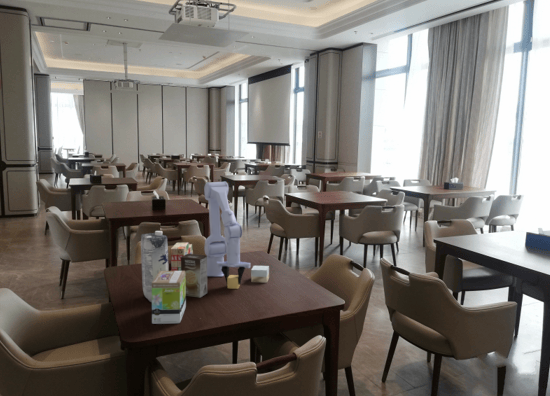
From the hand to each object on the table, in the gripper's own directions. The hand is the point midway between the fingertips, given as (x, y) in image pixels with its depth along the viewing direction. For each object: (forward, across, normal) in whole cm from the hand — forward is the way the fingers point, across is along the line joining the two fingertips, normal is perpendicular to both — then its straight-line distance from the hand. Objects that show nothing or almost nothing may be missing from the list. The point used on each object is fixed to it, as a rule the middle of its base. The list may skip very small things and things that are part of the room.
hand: (233, 283), depth 188 cm
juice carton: (+2, -28, -17) cm, 33 cm away
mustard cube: (+1, 0, 0) cm, 1 cm away
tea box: (+2, -16, -34) cm, 38 cm away
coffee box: (+2, -14, -11) cm, 18 cm away
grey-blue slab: (-1, +10, +11) cm, 15 cm away
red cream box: (+2, -32, +28) cm, 42 cm away
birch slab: (+2, +10, +11) cm, 15 cm away
